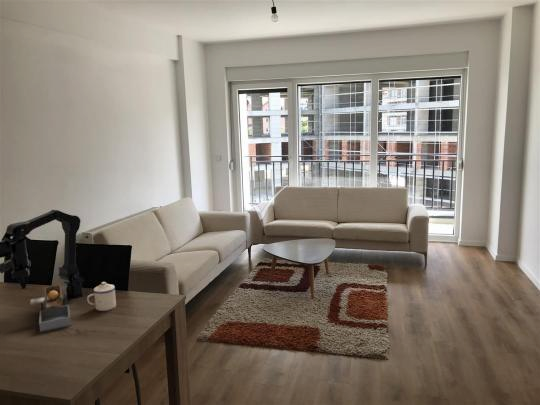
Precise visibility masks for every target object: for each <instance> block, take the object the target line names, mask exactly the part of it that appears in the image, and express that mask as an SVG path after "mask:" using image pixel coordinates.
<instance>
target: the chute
mask: <svg viewBox="0 0 540 405" xmlns="http://www.w3.org/2000/svg"><path fill="white" fill-rule="evenodd" d="M53 290H55V291H57V292H58V297H57V298H56V299H55V300H51V299H49V297H48V294H49V292H50V291H53ZM43 294H44V295H43V297H37V298H32V299H30V305H36V304H41V303H42V302H43V305H44V310H45V309H50V308H55V307H60V306H64V302H63V301H65V296H64V297H63V291H62V284H57V285H52V286H46V287H44V291H43Z"/></svg>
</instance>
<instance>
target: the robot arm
mask: <svg viewBox="0 0 540 405" xmlns="http://www.w3.org/2000/svg"><path fill="white" fill-rule="evenodd" d="M53 221H57V222H59V223H61V228H62V230H63V232H64V250H63V251H64V252H63V254H64V256H63V257H64V259H63V265H62V266H60V267H58V271H59V272H58V277H59V279H60V280H62V282H63V283H64V284H66V286H65V293H66V296H67V300H69V299H74V298H80V297H83V296H84V293H83V286H82V284H84V283H85V278H83V277H82V276H80V275H79V274H80V273H79V269H78V266H77V264H76V252H77V248H76V247H77V246H76V245H77V233H78V232H79V231H80V230H79V229H80V226H81V218H80V217H79V216H77V215H74V214H69V213H66V212H63V211H61V210H60V209H51V210H50V211H48V212H45V213H43V214H41V215H38V216H36V217H32V218H31V219H29V220H26V221H19V222H15V223H10V224H8V225H7V227H6V229H5V233H4V234H3V237H2V238H1V239H0V259H1V258H5V257H9V256H10V255H11V257H10V259H8V260H5V261H3V262H1V263H0V274H4V273H5V272H7V271H9V270H12V272H11V279H13V280H14V279H17V280H18V282H19V285H20V287H21V289H22V290H25V289H26V287H27V285H28V280H29V277H30V272H31V268H30V267H31V264H32V263H31V260H29V258H28V257H29V254H28V251H27V242H31V241H32V240H31V238H29V237H28V236H27V235H29V234H30V233H31V232H32V231H33V230H35V229H38V228H40V227H42V226H45V225H46V224H49V223H51V222H53Z"/></svg>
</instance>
